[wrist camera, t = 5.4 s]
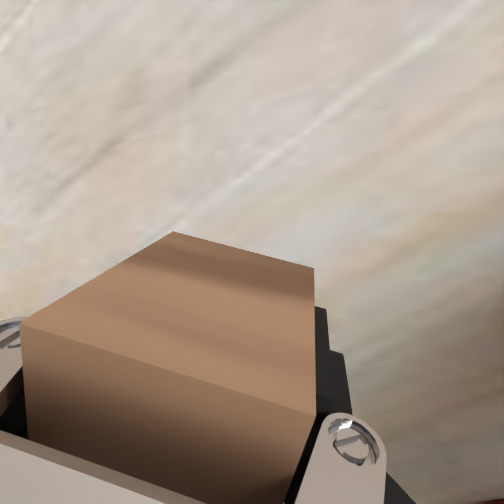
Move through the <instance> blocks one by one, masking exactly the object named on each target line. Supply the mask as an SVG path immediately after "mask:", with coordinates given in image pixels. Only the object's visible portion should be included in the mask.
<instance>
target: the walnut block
mask: <svg viewBox="0 0 504 504" xmlns="http://www.w3.org/2000/svg"><path fill="white" fill-rule="evenodd" d="M19 328H20V340H21V353H22V366H23V379H24V392H25V404H26V417H27V430H28V440H30V441H33V442H36V443H39V444H41V445H44V446H47V447H50V448H53V449H55V450H58V451H61V452H64V453H67V454H70V455H72V456H75V457H78V458H81V459H84V460H86V461H89V462H92V463H95V464H98V465H100V466H103V467H106V468H109V469H112V470H114V471H117V472H120V473H123V474H126V475H128V476H131V477H134V478H137V479H140V480H142V481H145V482H148V483H151V484H154V485H156V486H159V487H162V488H165V489H168V490H170V491H173V492H176V493H179V494H181V495H184V496H187V497H190V498H192V499H195V500H198V501H201V502H203V503H206V504H283V502H284V499H285V497H286V494H287V492H288V489H289V486H290V484H291V481H292V478H293V476H294V473H295V470H296V468H297V465H298V463H299V460H300V457H301V455H302V452H303V449H304V447H305V444H306V441H307V439H308V436H309V434H310V431H311V428H312V426H313V423H314V420H315V418H316V375H315V308H314V268H310V267H307V266H303V265H299V264H295V263H291V262H287V261H284V260H280V259H276V258H272V257H268V256H265V255H261V254H257V253H253V252H249V251H245V250H242V249H238V248H234V247H230V246H226V245H223V244H219V243H215V242H211V241H207V240H204V239H200V238H196V237H192V236H188V235H184V234H181V233H177V232H171V233H170V234H168V235H166V236H165V237H163V238H161V239H160V240H158V241H156V242H154V243H153V244H151V245H149V246H148V247H146V248H144V249H143V250H141V251H139V252H138V253H136V254H134V255H133V256H131V257H129V258H128V259H126V260H124V261H123V262H121V263H119V264H118V265H116V266H114V267H112V268H111V269H109V270H107V271H106V272H104V273H102V274H101V275H99V276H97V277H96V278H94V279H92V280H91V281H89V282H87V283H86V284H84V285H82V286H81V287H79V288H77V289H76V290H74V291H72V292H70V293H69V294H67V295H65V296H64V297H62V298H60V299H59V300H57V301H55V302H54V303H52V304H50V305H49V306H47V307H45V308H44V309H42V310H40V311H39V312H37V313H35V314H33V315H32V316H30V317H28V318H27V319H25V320H23V321H22V322H20V323H19Z"/></svg>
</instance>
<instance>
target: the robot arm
mask: <svg viewBox="0 0 504 504" xmlns="http://www.w3.org/2000/svg"><path fill="white" fill-rule="evenodd" d="M314 308H315V375H316V418H315V420H314V423H313V426H312V428H311V431H310V434H309V436H308V439H307V441H306V444H305V447H304V449H303V452H302V455H301V457H300V460H299V463H298V465H297V468H296V470H295V473H294V476H293V478H292V481H291V484H290V486H289V489H288V492H287V494H286V497H285V499H284V504H416V503H415V502H414V501H413V500H412V499H411V498H410V497H409V496H408V495H407V494H406V492H405V491H404V490H403V489H402V488H401V487H400V486H399V485H398V484H397V483H396V482H395V481H394V480H393V479H392V478H391V476H390V475H389V474H388V473H387V472H386V466H387V455H386V449H385V446H384V444H383V442H382V440H381V438H380V437H379V436H378V434H377V433H376V431H375V430H373V429H372V428H371V427H370V426H369V425H368V424H367V423H366V422H364V421H362V420H361V419H359V418H358V417H355V416H353V415H352V408H351V402H350V395H349V388H348V382H347V375H346V369H345V362H344V357H343V354H342V353H338V352H335V351H331V350H330V347H329V336H328V324H327V313H326V309H324V308H320V307H316V306H314ZM27 318H28V317H18V318H11V319H7V320H3V321H0V504H206V503H203V502H201V501H198V500H195V499H192V498H190V497H187V496H184V495H181V494H179V493H176V492H173V491H170V490H168V489H165V488H162V487H159V486H156V485H154V484H151V483H148V482H145V481H142V480H140V479H137V478H134V477H131V476H128V475H126V474H123V473H120V472H117V471H114V470H112V469H109V468H106V467H103V466H100V465H98V464H95V463H92V462H89V461H86V460H84V459H81V458H78V457H75V456H72V455H70V454H67V453H64V452H61V451H58V450H55V449H53V448H50V447H47V446H44V445H41V444H39V443H36V442H33V441H30V440H28V430H27V417H26V404H25V392H24V379H23V366H22V353H21V340H20V328H19V323H20V322H22V321H23V320H25V319H27Z"/></svg>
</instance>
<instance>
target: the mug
mask: <svg viewBox="0 0 504 504" xmlns="http://www.w3.org/2000/svg"><path fill="white" fill-rule="evenodd" d="M488 504H504V500H498V501H493V502H490V503H488Z"/></svg>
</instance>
